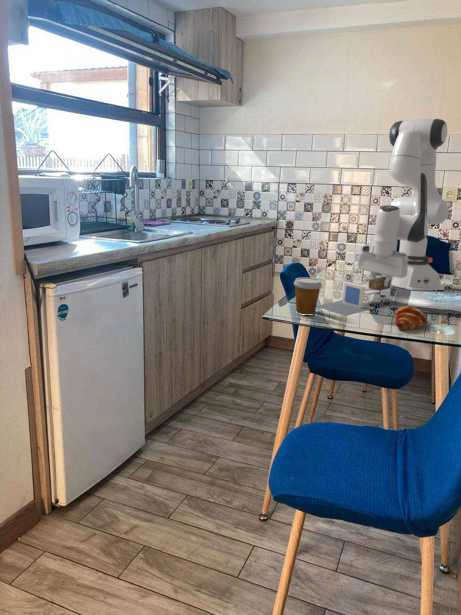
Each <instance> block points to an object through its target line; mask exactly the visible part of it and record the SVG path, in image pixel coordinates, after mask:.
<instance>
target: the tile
mask: <svg viewBox="0 0 461 615" xmlns="http://www.w3.org/2000/svg"><path fill="white" fill-rule="evenodd" d="M365 287H366V286H365V285H362V284H356V283H353V282H348V281H345V282H344V286H343V294H342V300H343V302H342V303H343V304H346V305H350V306H354V307H357V308H363V305H364V300H365V299H364V298H365V294H364V293H365Z"/></svg>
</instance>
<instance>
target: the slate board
mask: <svg viewBox="0 0 461 615" xmlns="http://www.w3.org/2000/svg"><path fill="white" fill-rule="evenodd" d="M342 302H343V299H342V300H338V301H332V302H328V303H323V304H317V305H316V308H318V309H322V310H326V311H329V312H331V313H336V314H338V315H342V316H345V317H346V316H351V315H354V314H359V313H362V312H366V311H370V310H374V309H376V307H373V306H369V305H367V304H363V308H357V307H354V306H350V305H346V304H343V303H342Z"/></svg>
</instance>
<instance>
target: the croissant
mask: <svg viewBox="0 0 461 615" xmlns="http://www.w3.org/2000/svg"><path fill="white" fill-rule="evenodd" d="M393 317H394V323H395V326H396V327H397V329H400V330H407V331H413V330H416V329H418V328H420V327H422V326H423V325H425V324H426V323H427V316H426V315H425V313H424V312H423V311H421V310H420V309H418V308H416V307H415V306H411V305H410V306H409V305H407V306H401V307H399V308H398V309H396V311H395V312H394V316H393Z"/></svg>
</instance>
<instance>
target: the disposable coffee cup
mask: <svg viewBox="0 0 461 615" xmlns="http://www.w3.org/2000/svg"><path fill="white" fill-rule="evenodd" d="M293 285H294V289H295V291H294V292H295V311H297V312H298V313H301V314H314V313H316V310H317V309H316V308H317V307H316V306H318V299H319V295H320V289H321V288H322V285H323V284H322V281H321V279H318V278H314V277H308V276H307V277H305V276H304V277H303V276H302V277H297V278H295V280H294V282H293ZM314 315H315V314H314Z"/></svg>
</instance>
